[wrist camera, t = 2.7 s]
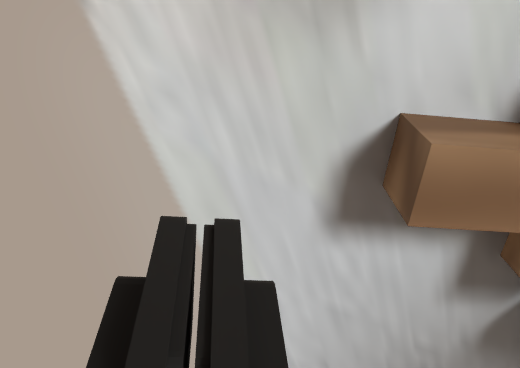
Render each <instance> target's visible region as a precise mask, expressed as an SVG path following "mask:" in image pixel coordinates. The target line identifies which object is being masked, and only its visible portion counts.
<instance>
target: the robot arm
mask: <svg viewBox="0 0 520 368" xmlns="http://www.w3.org/2000/svg"><path fill="white" fill-rule="evenodd" d="M195 248H196V224H187V217H171V216H161V217H160V221H159V225H158V230H157V234H156V238H155V242H154V246H153V251H152V255H151V259H150V263H149V267H148V272H147V276H146V277H123V276H118V277H117V278H116V280H115V282H114V285H113V288H112V291H111V294H110V297H109V300H108V303H107V306H106V309H105V312H104V315H103V318H102V321H101V324H100V327H99V330H98V333H97V336H96V339H95V342H94V345H93V349H92V351H91V354H90V357H89V360H88V363H87V366H86V368H189V360H190V348H191V336H192V320H193V297H194V272H195ZM195 368H288V363H287V356H286V350H285V344H284V338H283V331H282V325H281V319H280V313H279V306H278V300H277V294H276V288H275V283H274V282H273V281H254V280H244V275H243V260H242V244H241V229H240V220H237V219H215V222H214V225H204V239H203V254H202V270H201V283H200V298H199V314H198V328H197V343H196V358H195Z"/></svg>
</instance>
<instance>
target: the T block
mask: <svg viewBox="0 0 520 368" xmlns="http://www.w3.org/2000/svg"><path fill="white" fill-rule="evenodd" d="M383 187H384V189H385V190H386V192H387V193H388V195H389V197H390V198H391V200H392V201H393V203H394V205H395V206H396V208H397V209H398V211H399V213H400V214H401V216H402V217H403V219H404V221H405V222H406V224H407V225H408V226H416V227H432V228H448V229H464V230H481V231H497V232H510V233H509V235H508V238H507V240H506V243H505V245H504V248H503V250H502V252H501V257H502V258H503V259H504V260H505V261H506V262H507V264H508V265H509V266H510V267H511V268H512V269H513V270H514V272H515V273H516V274H517V275H518V276H519V277H520V123H513V122H501V121H489V120H477V119H465V118H453V117H441V116H429V115H417V114H405V113H401V114H400V118H399V122H398V126H397V130H396V134H395V138H394V142H393V146H392V150H391V154H390V158H389V162H388V166H387V170H386V174H385V178H384V182H383Z"/></svg>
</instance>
